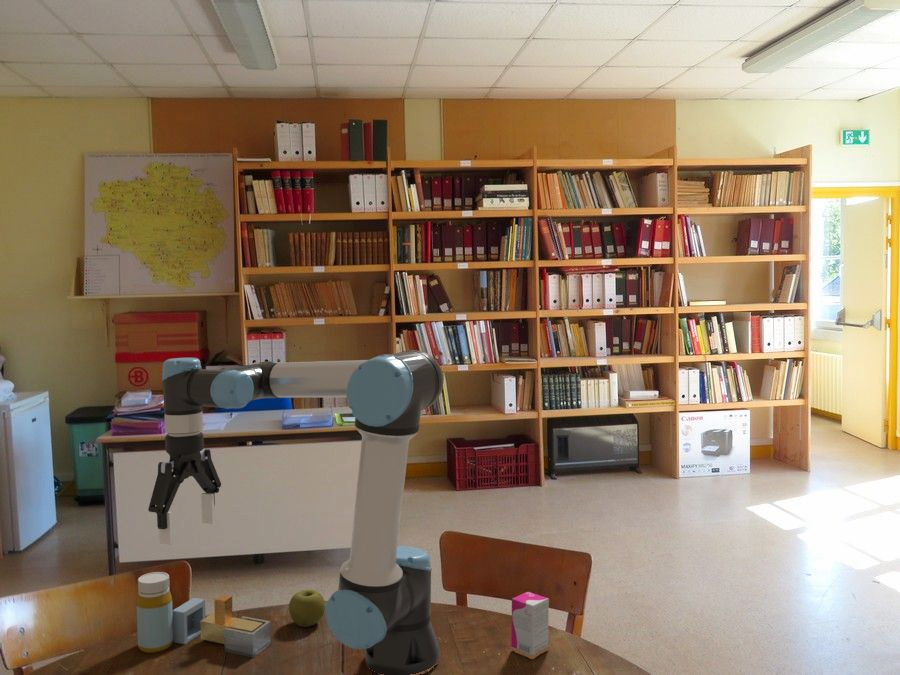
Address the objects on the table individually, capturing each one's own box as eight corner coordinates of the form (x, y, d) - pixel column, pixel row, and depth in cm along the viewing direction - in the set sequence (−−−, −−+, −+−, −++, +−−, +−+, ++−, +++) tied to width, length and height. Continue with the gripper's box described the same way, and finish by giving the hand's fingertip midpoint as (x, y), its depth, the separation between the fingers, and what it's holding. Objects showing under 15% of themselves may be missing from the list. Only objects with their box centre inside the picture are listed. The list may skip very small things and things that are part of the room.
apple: (322, 631, 173) (321, 600, 173) (285, 631, 173) (285, 600, 173) (327, 616, 181) (327, 586, 180) (293, 616, 181) (292, 586, 180)
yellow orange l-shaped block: (263, 641, 167) (262, 600, 166) (252, 649, 163) (251, 607, 162) (212, 631, 171) (211, 591, 170) (200, 639, 168) (199, 598, 167)
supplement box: (549, 650, 165) (549, 597, 164) (532, 660, 161) (532, 606, 160) (527, 641, 169) (527, 590, 168) (509, 651, 164) (510, 598, 163)
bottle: (161, 655, 162) (159, 585, 161) (131, 652, 164) (128, 582, 163) (179, 640, 169) (177, 572, 168) (150, 637, 171) (148, 570, 169)
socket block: (205, 630, 174) (205, 599, 173) (184, 644, 167) (183, 612, 167) (194, 628, 175) (193, 597, 174) (173, 641, 168) (172, 610, 168)
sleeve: (270, 644, 168) (270, 621, 167) (253, 657, 162) (252, 634, 161) (243, 638, 170) (242, 616, 170) (224, 651, 164) (224, 628, 164)
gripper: (206, 420, 176) (210, 513, 177) (126, 444, 152) (131, 551, 154) (235, 422, 173) (238, 516, 175) (157, 446, 150) (162, 555, 151)
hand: (188, 533), depth 164 cm, fingers open, 13 cm apart
